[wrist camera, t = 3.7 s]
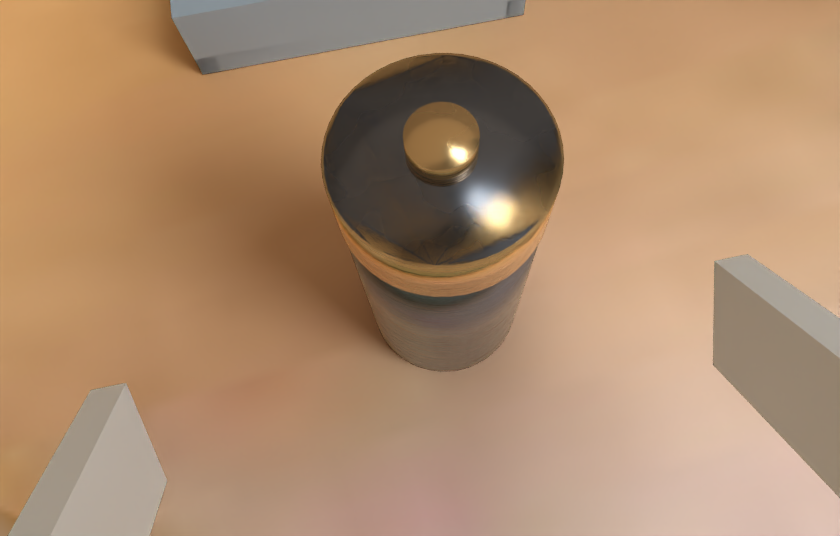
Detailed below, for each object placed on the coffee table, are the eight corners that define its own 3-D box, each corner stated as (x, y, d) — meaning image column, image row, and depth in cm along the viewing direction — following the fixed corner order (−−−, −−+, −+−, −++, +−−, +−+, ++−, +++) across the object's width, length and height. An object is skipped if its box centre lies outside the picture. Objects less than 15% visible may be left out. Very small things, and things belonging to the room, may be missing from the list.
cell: (497, 223, 26) (533, 10, 15) (531, 356, 24) (601, 225, 13) (362, 250, 26) (299, 54, 15) (386, 386, 24) (334, 277, 13)
